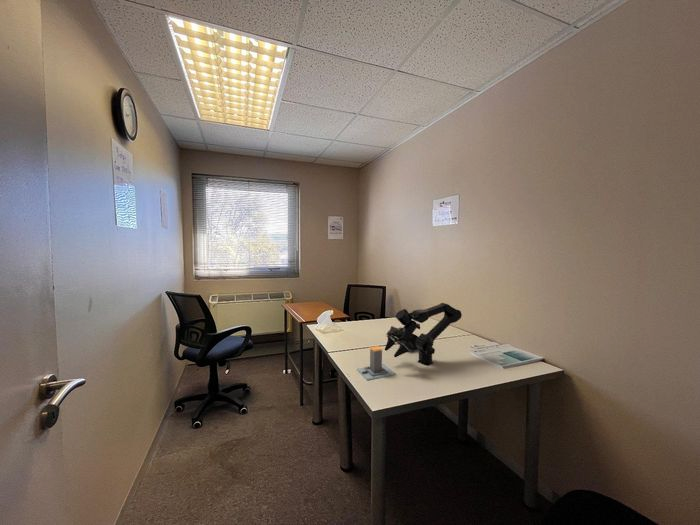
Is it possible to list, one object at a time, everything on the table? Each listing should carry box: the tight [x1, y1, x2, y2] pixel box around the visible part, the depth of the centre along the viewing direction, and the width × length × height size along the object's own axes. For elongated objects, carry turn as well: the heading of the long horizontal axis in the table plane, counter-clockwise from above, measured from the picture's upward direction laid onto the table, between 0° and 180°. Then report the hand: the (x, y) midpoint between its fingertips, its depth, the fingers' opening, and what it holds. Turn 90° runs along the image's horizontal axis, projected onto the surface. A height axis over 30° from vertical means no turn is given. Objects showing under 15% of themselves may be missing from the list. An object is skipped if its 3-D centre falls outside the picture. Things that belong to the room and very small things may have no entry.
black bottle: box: [388, 329, 419, 352], centre depth 184 cm, size 10×34×10 cm, turn 14°
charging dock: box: [356, 363, 397, 381], centre depth 140 cm, size 16×12×2 cm
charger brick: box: [369, 345, 383, 374], centre depth 140 cm, size 4×4×12 cm
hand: (389, 353), depth 143 cm, fingers open, 9 cm apart
